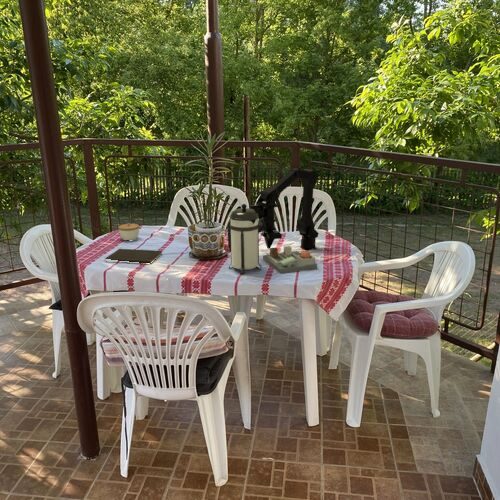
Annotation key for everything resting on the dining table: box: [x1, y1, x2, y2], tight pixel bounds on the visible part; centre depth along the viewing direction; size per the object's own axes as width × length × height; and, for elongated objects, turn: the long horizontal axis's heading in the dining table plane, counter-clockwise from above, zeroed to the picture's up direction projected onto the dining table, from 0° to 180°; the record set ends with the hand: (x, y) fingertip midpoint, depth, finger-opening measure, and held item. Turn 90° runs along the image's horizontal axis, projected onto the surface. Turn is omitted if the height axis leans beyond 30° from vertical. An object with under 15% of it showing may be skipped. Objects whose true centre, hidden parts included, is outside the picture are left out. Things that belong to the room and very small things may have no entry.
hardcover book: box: [104, 248, 163, 264], centre depth 251 cm, size 16×23×2 cm
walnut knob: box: [269, 247, 279, 258], centre depth 243 cm, size 3×2×4 cm
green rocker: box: [280, 256, 295, 266], centre depth 230 cm, size 6×4×1 cm, turn 109°
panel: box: [262, 250, 318, 275], centre depth 239 cm, size 18×21×5 cm
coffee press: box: [227, 203, 263, 275], centre depth 230 cm, size 17×16×30 cm
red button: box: [300, 250, 311, 259], centre depth 233 cm, size 4×4×4 cm
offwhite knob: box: [283, 245, 293, 256], centre depth 245 cm, size 3×2×4 cm
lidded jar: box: [118, 222, 140, 241], centre depth 280 cm, size 11×11×9 cm
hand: (268, 248), depth 249 cm, fingers closed
